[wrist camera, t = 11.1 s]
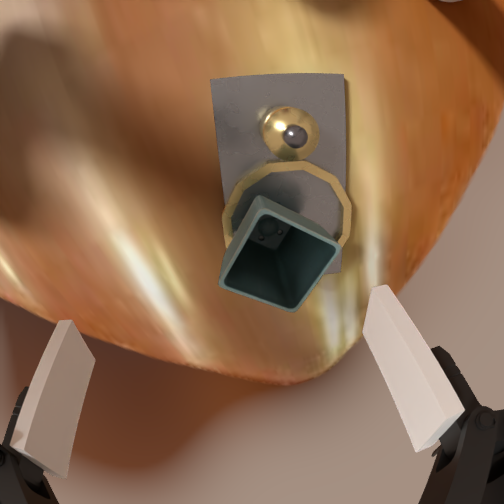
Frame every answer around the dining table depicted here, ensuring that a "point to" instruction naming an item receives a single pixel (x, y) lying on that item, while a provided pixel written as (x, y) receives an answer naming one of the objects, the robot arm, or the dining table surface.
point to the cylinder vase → (450, 0)
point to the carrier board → (253, 152)
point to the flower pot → (277, 256)
